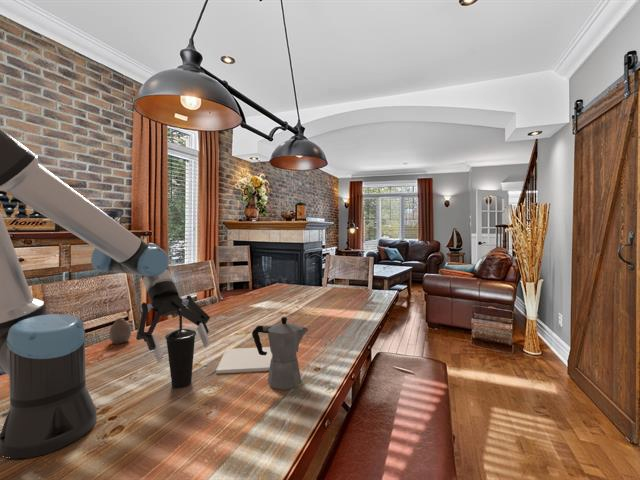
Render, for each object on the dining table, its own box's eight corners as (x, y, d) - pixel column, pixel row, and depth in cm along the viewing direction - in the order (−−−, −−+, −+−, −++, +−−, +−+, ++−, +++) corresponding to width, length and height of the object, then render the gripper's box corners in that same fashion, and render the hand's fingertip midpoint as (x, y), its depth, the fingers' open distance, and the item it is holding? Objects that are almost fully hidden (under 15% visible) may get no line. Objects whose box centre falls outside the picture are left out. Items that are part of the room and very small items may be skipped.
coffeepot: (309, 373, 89) (308, 312, 89) (307, 390, 80) (307, 322, 79) (256, 373, 89) (255, 312, 89) (248, 390, 80) (247, 322, 79)
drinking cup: (159, 386, 82) (158, 312, 81) (184, 374, 89) (183, 306, 88) (178, 393, 78) (177, 316, 78) (202, 380, 85) (201, 309, 84)
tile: (271, 370, 91) (271, 367, 91) (216, 373, 89) (215, 370, 89) (273, 349, 107) (273, 346, 107) (226, 351, 105) (226, 348, 105)
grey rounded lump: (120, 346, 110) (120, 322, 110) (104, 344, 112) (103, 321, 111) (135, 339, 117) (135, 316, 117) (120, 338, 118) (119, 315, 118)
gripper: (196, 289, 102) (221, 346, 92) (110, 302, 84) (131, 374, 74) (203, 275, 98) (230, 332, 89) (116, 285, 80) (138, 359, 71)
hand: (185, 352), depth 81 cm, fingers open, 12 cm apart
